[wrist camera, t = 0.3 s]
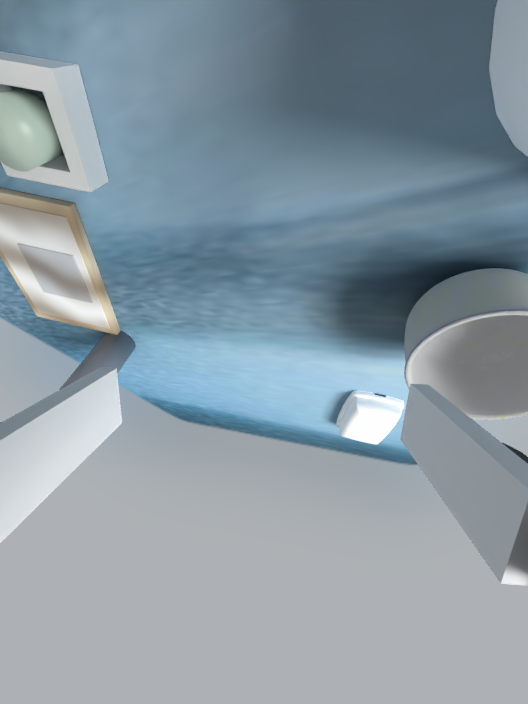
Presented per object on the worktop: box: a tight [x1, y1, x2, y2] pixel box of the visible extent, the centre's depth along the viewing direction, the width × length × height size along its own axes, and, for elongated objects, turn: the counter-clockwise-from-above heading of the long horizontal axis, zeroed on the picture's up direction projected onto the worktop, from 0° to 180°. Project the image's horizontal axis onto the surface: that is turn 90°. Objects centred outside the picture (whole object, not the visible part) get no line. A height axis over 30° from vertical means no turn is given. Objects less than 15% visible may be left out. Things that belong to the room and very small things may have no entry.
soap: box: [336, 390, 404, 444], centre depth 40 cm, size 9×7×3 cm
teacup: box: [405, 268, 528, 420], centre depth 23 cm, size 14×11×8 cm
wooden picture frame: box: [0, 188, 121, 335], centre depth 33 cm, size 16×11×1 cm
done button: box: [0, 89, 63, 171], centre depth 20 cm, size 4×4×3 cm
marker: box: [60, 331, 135, 390], centre depth 36 cm, size 4×4×12 cm
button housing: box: [0, 51, 109, 193], centre depth 22 cm, size 7×7×2 cm
